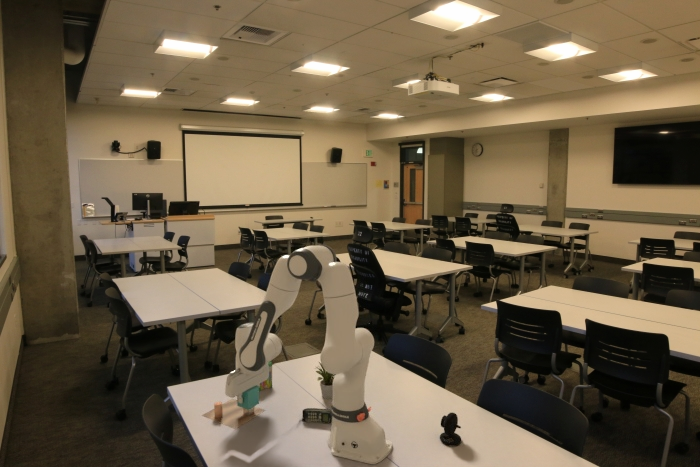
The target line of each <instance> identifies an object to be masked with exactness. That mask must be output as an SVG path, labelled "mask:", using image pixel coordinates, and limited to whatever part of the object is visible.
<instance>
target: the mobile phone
mask: <svg viewBox="0 0 700 467" xmlns="http://www.w3.org/2000/svg"><path fill="white" fill-rule="evenodd" d="M302 422H304V423H305V422H306V423H319V424H332V414H331V408H315V407H313V408H312V407H309V408H308V407H307V408H304V409H302Z"/></svg>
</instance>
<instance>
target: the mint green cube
mask: <svg viewBox="0 0 700 467" xmlns="http://www.w3.org/2000/svg"><path fill="white" fill-rule="evenodd" d="M241 396H242V398H244V402H243V403H241V404H240V403H239V402H238V398H237V397H236V398H237V399H236V400H237V406H239V407H242V408H245V409H247V410H249V409H251V408H252V407H254V406H255V407H257V406H258V405H259V404H260V391H259V386H254V387H252V388H250V389H248V390H247V391H245V392H243V393H242V395H241Z"/></svg>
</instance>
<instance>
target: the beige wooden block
mask: <svg viewBox="0 0 700 467" xmlns="http://www.w3.org/2000/svg"><path fill="white" fill-rule="evenodd" d="M252 413H254V407H252V408H251V409H249V410H247V409H245V408H243V414H246V415H251V414H252Z"/></svg>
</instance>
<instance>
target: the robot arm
mask: <svg viewBox="0 0 700 467" xmlns="http://www.w3.org/2000/svg"><path fill="white" fill-rule="evenodd" d="M302 281H307V282H312V283H313V282H316V281H317V282H319V284H320V285H321V289H322V296H323V301H324V309H325V315H326V327H325V328H326V329H325V330H326V331H325V340H324V345H323V347H322V349H321V352H320V356H319V359H320V363H321V364H322V366H323V368H324V369H325V370H326V371H327V372H329V373H331V374H336V375H335V377H334V380H333V398H332V402H331V408H330V409H331V414H332V423H331V427H330V433H329V436H328V441H327V443H328V446H329V447H330V449H331V455H332V456H335V457H339V458H344V459H349V460H352V461H356V462H361V463H365V464H369V465H370V464H371V465H376V464H378V463H380V462H382V461H383V460H384V459H386V458H387V457H388V456H389V454H390V453H391V452H392V449H393V442H392V441H391V440H389V439H387V437H386V433H385V429H384V428H383V426H382V425H380V424H379V423H378V422H377V420H376V419H374V417H372V416H371V415H370V412H371V410H372V409H371V408H372V406H369V407H367V404H366V402H365V387H366V386H365V385H366V377H367V372H368V367H369V363H370V358H371V354H372V351H373V349H374V346H375V338H374V336H373V334H372V332H370V330H369V329H367V328H364V327H357V328H356V326H357V321H358V318H359V313H360V312H359V306H358V305H359V304H358V299H357V295H356V288H355V284H354V280H353V277H352V273H351V270H350V268H349V265H347V264H346V263H344V262H341V261H337V253H336V252H335V250H334V249H333V248H332V247H330V246H329V245H326V244H317V245H308V246H305V247H301V248H298V249H295V250H294V251H293V252H291V254H285V255H282V256H281V257H279V258H278V259H277V261H276V263H275V265H274V268H273V270H272V272H271V276H270V279H269V282H268V285H267V288H266V292H265V295H264V297H263V299H262V303H261V305H260V306H259V309H258V311H257V313H256V316H255V318H254V321H253V322H246V323H243V324H240V325H239V326H238V327H237V328H236V330H235V336H234V337H235V339H234V341H235V342H234V344H235V350H236V354H235V370H233V371H230V372H229V374H228V375H227V376H226V381H225V388H224V389H225V395H226V396H227V397H228V398H231V399H234V398H238V402H239V403H240V404H241V403H243V402H244V398H242V396H241V395H242V393H243V392H245V391H247V390H248V389H250V388H252V387H254V386H260V383H262V382H263V381H265V380H267V379H268V377H269V365H268V362H272V360H274V359H275V358H277V356H279V355H280V354H281V352H282V351H283V344H282V340H281V339H280V337H279V336H278V335H277V334H275V333H272V332H270V331H271V329H272V327H273V325H274V323H275V321H277V319H278V318H280V316H282V314H284V313H285V312H286V311H288V310H289V309H290V308H291V307H292V306H293V305H294V303H295V302H296V299H297V297H298V294H299V291H300V287H301V283H302ZM326 371H325V372H326Z"/></svg>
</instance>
